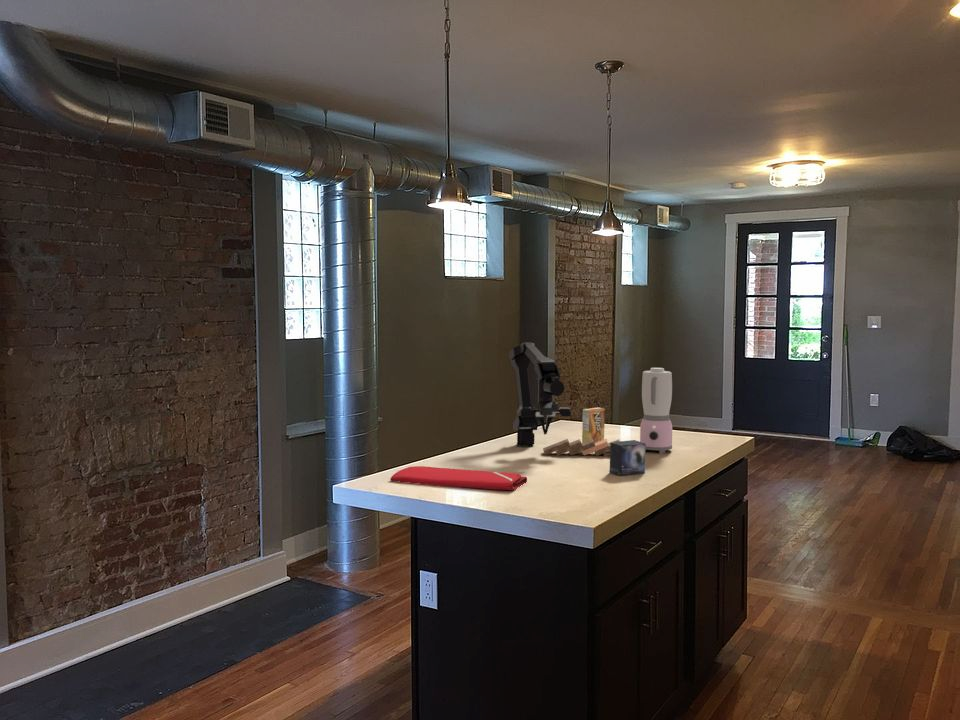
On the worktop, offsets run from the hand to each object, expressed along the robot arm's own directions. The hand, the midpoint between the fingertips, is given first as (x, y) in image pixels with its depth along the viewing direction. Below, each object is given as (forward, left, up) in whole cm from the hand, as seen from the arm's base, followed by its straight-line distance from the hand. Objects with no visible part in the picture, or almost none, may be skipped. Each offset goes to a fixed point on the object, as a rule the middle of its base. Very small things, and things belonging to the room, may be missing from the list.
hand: (545, 434), depth 298 cm
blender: (+43, +8, -8) cm, 44 cm away
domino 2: (+4, 0, -7) cm, 8 cm away
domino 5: (+19, 0, -7) cm, 20 cm away
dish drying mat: (-29, -49, -8) cm, 57 cm away
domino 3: (+9, 0, -7) cm, 11 cm away
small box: (+27, -32, -8) cm, 42 cm away
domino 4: (+14, 0, -7) cm, 16 cm away
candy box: (+20, +16, -8) cm, 26 cm away
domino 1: (0, 0, -7) cm, 7 cm away
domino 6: (+22, 0, -7) cm, 23 cm away
